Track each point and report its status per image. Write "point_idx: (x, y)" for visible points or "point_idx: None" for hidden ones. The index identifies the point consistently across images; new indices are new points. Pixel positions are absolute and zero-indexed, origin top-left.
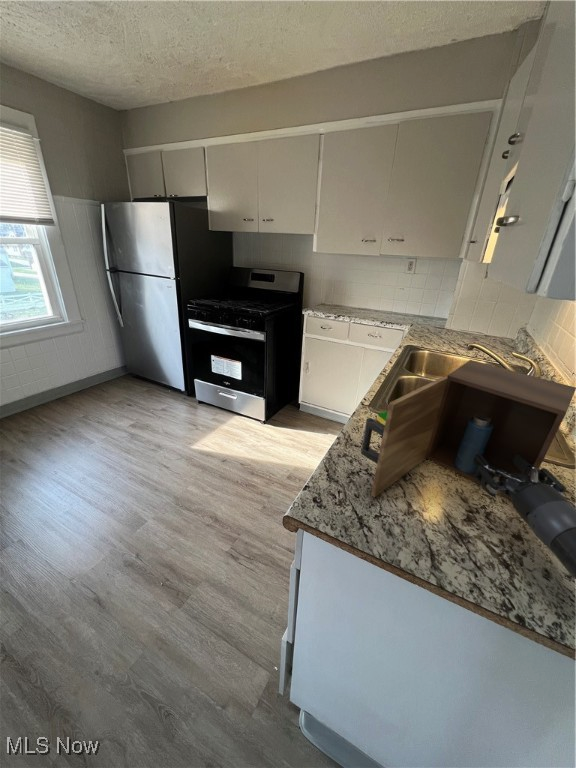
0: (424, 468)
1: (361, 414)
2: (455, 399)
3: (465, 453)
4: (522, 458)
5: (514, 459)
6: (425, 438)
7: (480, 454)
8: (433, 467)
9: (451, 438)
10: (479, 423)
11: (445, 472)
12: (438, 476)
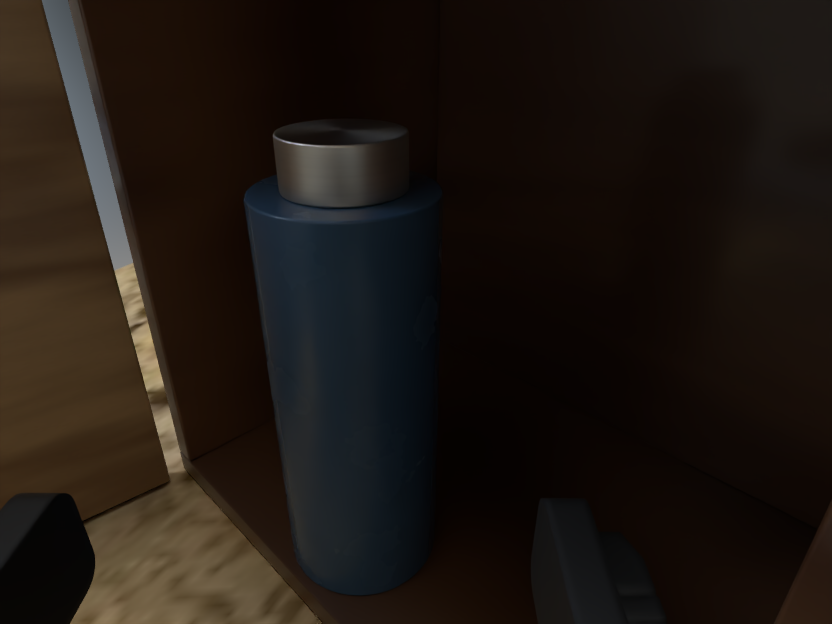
0: (101, 549)
1: (123, 270)
2: (338, 98)
3: (284, 452)
4: (594, 557)
5: (537, 548)
6: (20, 347)
7: (32, 509)
8: (172, 539)
9: None
10: (289, 177)
11: (217, 579)
12: (131, 619)
